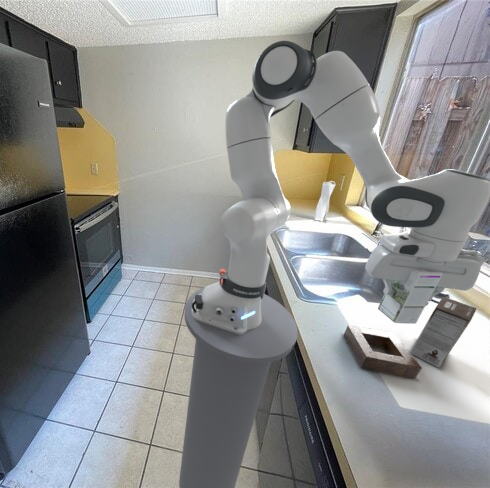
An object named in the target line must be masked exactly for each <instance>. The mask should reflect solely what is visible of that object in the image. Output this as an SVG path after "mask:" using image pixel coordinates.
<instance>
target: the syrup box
mask: <svg viewBox="0 0 490 488" xmlns="http://www.w3.org/2000/svg"><path fill="white" fill-rule="evenodd" d="M442 275H443V273H440V272H435V271H428V270H412V272H411V274H410V276H409V278H408V280H407V282H401V281H395V283H394V284H391V286H392V287H393V288H394V289H395V290H396V292H395V293H394V296H390V295H385V294H384V293H383V296H382V298H381V301H380V303H379V305H378V307H377V309H378V310H379V312H381V313H382V314H383V315H384V316H386V317H387V318H388V319H389V320H390V321H392V322H393V323H395V324H409V325H411V324H416V325H417V323H418V321H419V319H420V316H422V313H423V311H424V309H425V308H426V306H427V304H428V302H429V301H428V300H429V298H430V297H431V295H432V293H433V291H434V290H435V288H436V286H437V284H438V283H439V281H440V279H441V277H442Z"/></svg>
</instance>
